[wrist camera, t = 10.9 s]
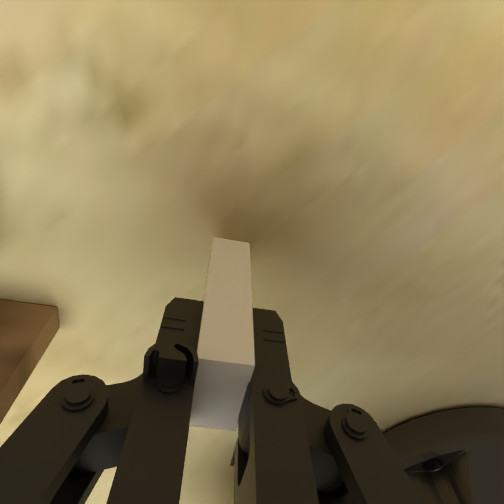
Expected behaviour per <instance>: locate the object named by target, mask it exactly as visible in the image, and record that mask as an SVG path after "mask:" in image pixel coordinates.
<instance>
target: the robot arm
mask: <svg viewBox="0 0 504 504" xmlns="http://www.w3.org/2000/svg"><path fill="white" fill-rule="evenodd" d="M237 425H238V439H237V443H236V446H235V449H234V452H233V456H232V459H231V464H230V466H234V464H235V473H234V504H504V409H501V408H488V407H474V408H461V409H454V410H447V411H442V412H438V413H434V414H430V415H426V416H423V417H420V418H417V419H414V420H411V421H409V422H406V423H404V424H401V425H399V426H397V427H395V428H393V429H391V430H389V431H387V432H386V433H384V434H382V432H381V430H380V428H379V427H378V425H377V423H376V422H375V421H374V420H373V418H372V417H371V416H370V415H369V414H368V413H367V412H365V411H364V410H363V409H361V408H359V407H357V406H354V405H352V404H341V405H338V406H335V407H334V409H333V410H332V411H330V410H328V409H325V408H323V407H320V406H318V405H316V404H313V403H311V402H310V401H308V400H306V399H305V398H304V397H302V396H301V395H300V393H299V390H298V388H297V387H296V386H295V385H294V384H293V382H292V379H291V374H290V367H289V360H288V354H287V347H286V340H285V335H284V327H283V321H282V320H281V318H280V317H279V315H278V314H277V312H276V311H272V310H265V309H258V308H252V287H251V265H250V243H247V242H241V241H235V240H229V239H223V238H217V237H213V243H212V249H211V255H210V260H209V266H208V272H207V278H206V284H205V289H204V296H203V301H197V300H190V299H183V298H176V297H175V298H174V299H173V300H172V301H171V302H170V303H169V304H168V305H167V306H166V308H165V312H164V315H163V319H162V322H161V326H160V330H159V333H158V337H157V340H156V343H155V344H154V345H153V346H151V347H150V348H149V349H148V351H147V352H146V354H145V356H144V368H143V373H142V374H141V375H140V376H138V377H137V378H135V379H133V380H131V381H127V382H124V383H118V384H112V385H105V383H104V382H103V380H101V379H99V378H97V377H95V376H91V375H77V376H72V377H69V378H67V379H65V380H62V381H61V382H59V383H58V384H57V385H56V386H55V387H53V388H52V389H51V390H50V392H49V393H48V394H47V395H46V396H45V397H44V398H43V399H42V401H41V402H40V403H39V404H38V405H37V406H36V407H35V409H34V410H33V411H32V412H31V413H30V414H29V415H28V416H27V418H26V419H25V420H24V421H23V422H22V423H21V424H20V426H19V427H18V428H17V429H16V430H15V431H14V432H13V433H12V435H11V436H10V437H9V438H8V439H7V440H6V441H5V443H4V444H3V445H2V446H1V447H0V504H85V502H86V500H87V498H88V497H89V495H90V493H91V491H92V490H93V488H94V486H95V484H96V483H97V481H98V479H99V478H100V476H101V474H102V472H103V471H104V469H108V468H112V467H116V466H117V469H116V473H115V476H114V480H113V483H112V487H111V490H110V494H109V497H108V500H107V504H179V500H180V492H181V484H182V477H183V469H184V462H185V454H186V446H187V439H188V431H189V426H196V427H205V428H215V429H225V430H235V431H236V428H237Z"/></svg>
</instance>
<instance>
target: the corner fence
mask: <svg viewBox="0 0 504 504" xmlns="http://www.w3.org/2000/svg"><path fill="white" fill-rule="evenodd" d="M58 329H59V321H58V308H57V307H53V306H46V305H38V304H31V303H24V302H16V301H9V300H1V299H0V424H1V422H2V421H3V419H4V417H5V416H6V414H7V412H8V411H9V409H10V407H11V406H12V404H13V403H14V401H15V399H16V398H17V396H18V394H19V393H20V391H21V390H22V388H23V386H24V385H25V383H26V381H27V380H28V378H29V377H30V375H31V373H32V372H33V370H34V368H35V367H36V365H37V363H38V362H39V360H40V359H41V357H42V355H43V354H44V352H45V350H46V349H47V347H48V346H49V344H50V342H51V341H52V339H53V337H54V336H55V334H56V333H57V331H58Z"/></svg>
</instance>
